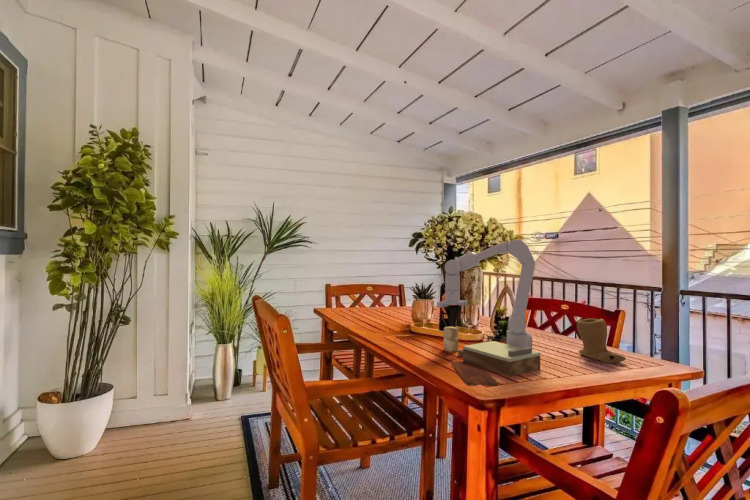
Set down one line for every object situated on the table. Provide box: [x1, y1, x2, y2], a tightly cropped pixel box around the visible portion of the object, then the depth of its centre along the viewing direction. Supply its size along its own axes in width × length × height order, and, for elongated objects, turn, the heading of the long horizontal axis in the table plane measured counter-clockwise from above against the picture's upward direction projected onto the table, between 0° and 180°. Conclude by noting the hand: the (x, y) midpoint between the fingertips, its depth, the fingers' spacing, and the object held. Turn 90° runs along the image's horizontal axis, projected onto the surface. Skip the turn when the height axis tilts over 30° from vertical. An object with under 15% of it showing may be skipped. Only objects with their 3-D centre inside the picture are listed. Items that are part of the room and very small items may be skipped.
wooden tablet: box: [450, 360, 499, 387], centre depth 133 cm, size 27×10×2 cm, turn 2°
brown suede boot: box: [576, 318, 627, 364], centre depth 151 cm, size 15×12×15 cm
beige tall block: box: [443, 325, 459, 353], centre depth 162 cm, size 4×4×9 cm
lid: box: [462, 340, 541, 362], centre depth 141 cm, size 16×20×3 cm
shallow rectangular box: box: [457, 348, 541, 377], centre depth 144 cm, size 16×27×4 cm, turn 33°
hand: (452, 324), depth 161 cm, fingers closed
